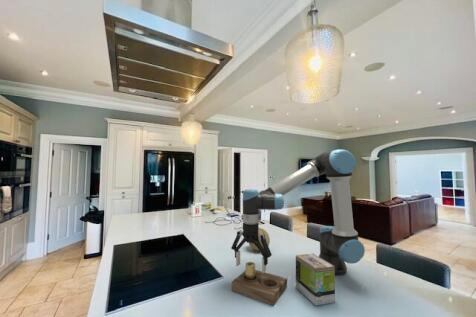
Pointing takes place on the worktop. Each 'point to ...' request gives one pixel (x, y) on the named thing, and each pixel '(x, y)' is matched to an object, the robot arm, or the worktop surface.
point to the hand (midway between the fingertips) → (250, 268)
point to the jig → (261, 286)
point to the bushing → (250, 271)
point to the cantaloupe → (261, 232)
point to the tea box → (315, 278)
